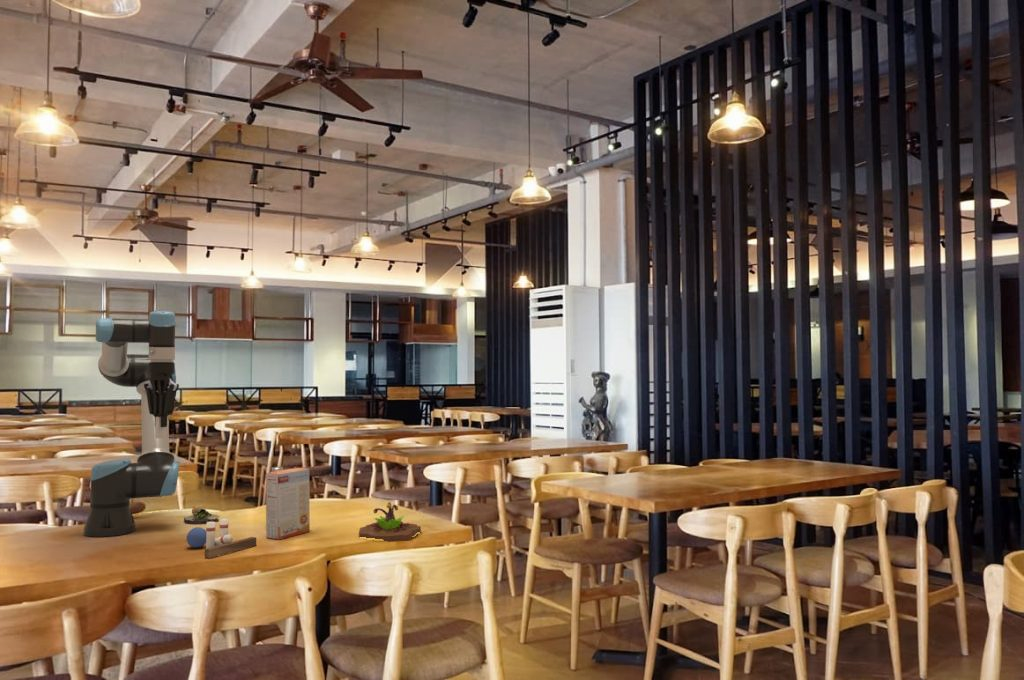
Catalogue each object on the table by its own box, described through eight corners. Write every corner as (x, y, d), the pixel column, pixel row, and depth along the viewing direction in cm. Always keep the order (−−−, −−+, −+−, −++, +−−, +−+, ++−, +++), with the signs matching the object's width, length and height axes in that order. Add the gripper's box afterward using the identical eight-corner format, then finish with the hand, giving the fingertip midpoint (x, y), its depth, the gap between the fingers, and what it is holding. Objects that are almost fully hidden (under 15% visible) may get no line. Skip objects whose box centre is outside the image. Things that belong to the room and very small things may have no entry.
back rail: (204, 557, 229) (204, 549, 229) (251, 545, 245) (251, 536, 245) (209, 558, 228) (209, 549, 228) (256, 545, 244) (256, 537, 244)
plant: (351, 542, 250) (351, 506, 251) (364, 529, 270) (365, 496, 270) (415, 543, 250) (415, 507, 250) (424, 530, 269) (424, 496, 270)
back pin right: (204, 551, 236) (204, 522, 236) (210, 550, 238) (211, 521, 239) (210, 552, 235) (210, 523, 235) (217, 550, 237) (217, 522, 238)
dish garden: (208, 526, 275) (208, 504, 275) (176, 525, 277) (176, 503, 277) (225, 519, 287) (226, 498, 287) (195, 518, 289) (195, 497, 289)
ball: (198, 539, 237) (192, 554, 239) (214, 533, 242) (208, 548, 244) (185, 526, 239) (179, 541, 241) (202, 520, 244) (196, 536, 246)
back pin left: (217, 548, 241) (217, 519, 241) (223, 546, 243) (224, 518, 243) (223, 549, 240) (223, 520, 240) (229, 547, 242) (230, 519, 242)
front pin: (205, 541, 240) (225, 534, 236) (211, 539, 242) (231, 533, 239) (206, 549, 239) (227, 543, 236) (213, 548, 241) (233, 541, 238)
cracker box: (296, 530, 267) (297, 467, 267) (310, 532, 264) (310, 468, 264) (264, 538, 255) (265, 472, 255) (278, 540, 252) (278, 473, 252)
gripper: (136, 361, 248) (135, 437, 248) (166, 361, 243) (165, 439, 242) (157, 361, 255) (156, 435, 254) (186, 361, 249) (185, 437, 249)
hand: (160, 437), depth 248 cm, fingers closed
